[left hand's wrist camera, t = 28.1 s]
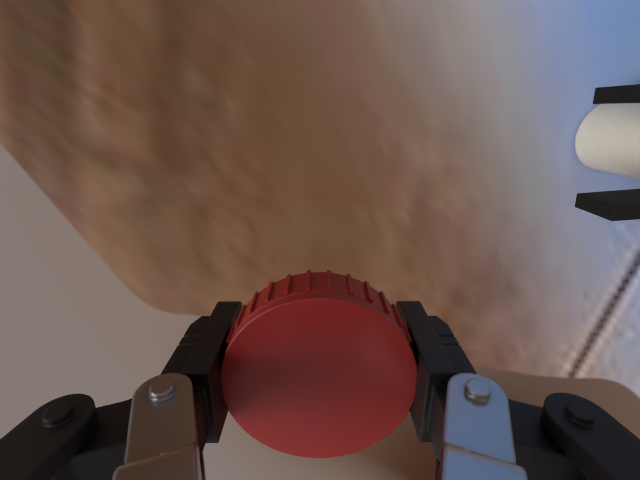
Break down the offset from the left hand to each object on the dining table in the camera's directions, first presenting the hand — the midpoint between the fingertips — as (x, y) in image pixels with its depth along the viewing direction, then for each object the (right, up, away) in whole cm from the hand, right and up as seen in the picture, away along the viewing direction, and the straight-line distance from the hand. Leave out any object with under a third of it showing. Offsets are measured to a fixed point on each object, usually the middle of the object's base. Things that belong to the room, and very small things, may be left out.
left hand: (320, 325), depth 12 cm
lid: (0, -1, -2) cm, 2 cm away
